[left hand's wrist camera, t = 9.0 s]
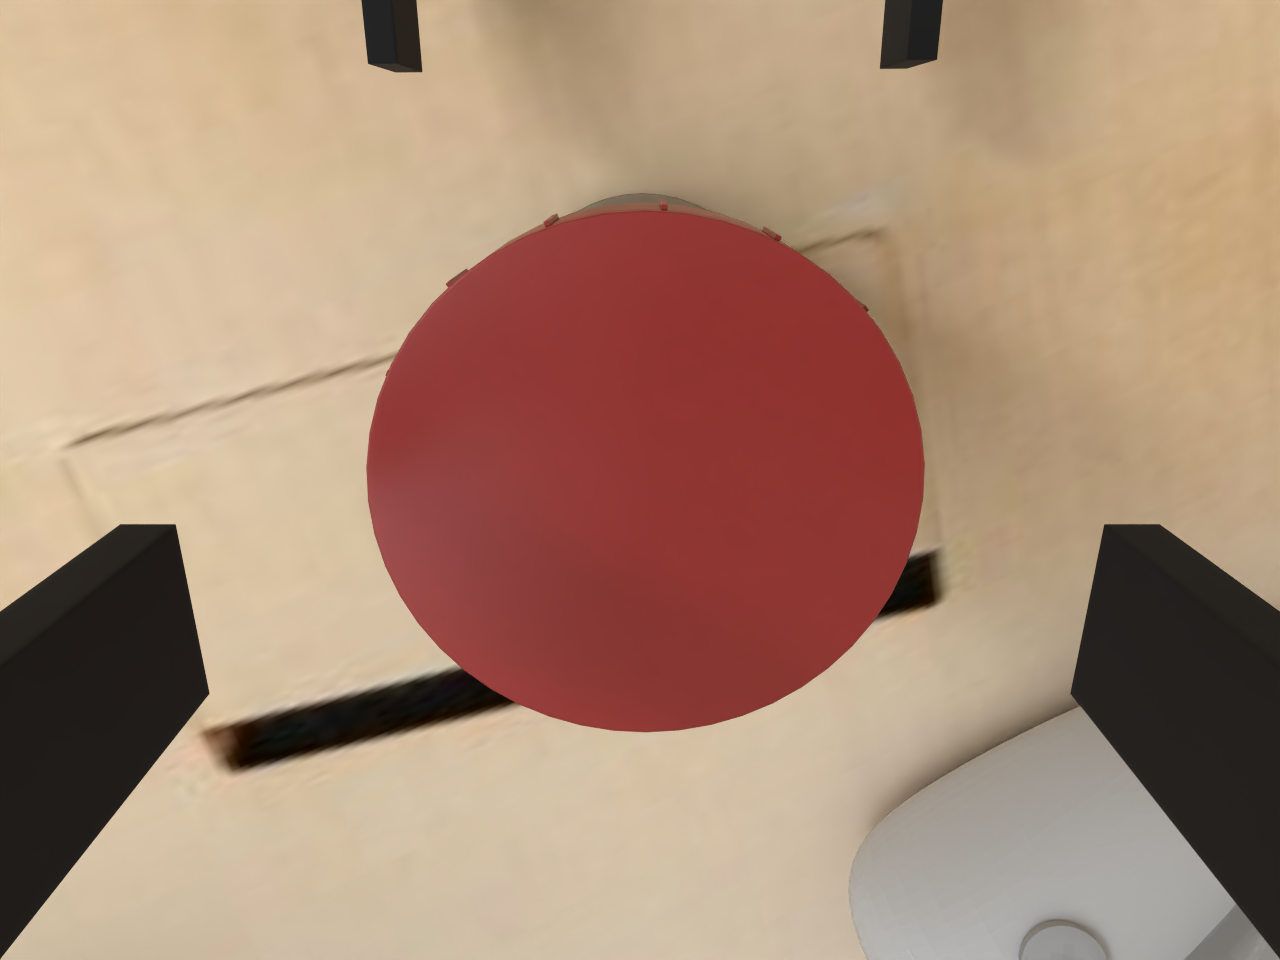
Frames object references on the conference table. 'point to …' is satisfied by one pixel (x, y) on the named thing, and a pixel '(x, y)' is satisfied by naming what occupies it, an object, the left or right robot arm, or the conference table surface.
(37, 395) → the conference table surface
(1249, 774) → the left robot arm
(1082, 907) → the projector
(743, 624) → the lid
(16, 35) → the conference table surface
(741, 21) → the conference table surface
